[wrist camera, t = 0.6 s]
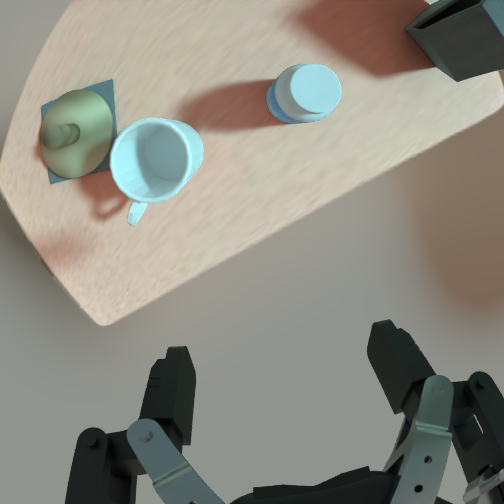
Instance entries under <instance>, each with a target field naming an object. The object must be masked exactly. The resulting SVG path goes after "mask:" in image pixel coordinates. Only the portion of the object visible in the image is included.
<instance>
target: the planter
mask: <svg viewBox="0 0 504 504" xmlns="http://www.w3.org/2000/svg"><path fill="white" fill-rule="evenodd" d="M405 30H406V31H407V32H408V33H409V34H410V36H411V37H412V38H413V39H414V40H415V41H416V42H417V44H418V45H419V46H420V47H421V48H422V50H423V51H424V52H425V53H426V55H427V56H428V57H429V58H430V60H431V61H432V62H433V63H434V65H435V66H436V67H437V68H438V69H440V70H441V71H442V72H444V73H445V74H447V75H448V76H449V77H451V78H452V79H453V80H455V81H456V82H459V81H462V80H465V79H468V78H472V77H475V76H478V75H482V74H485V73H489V72H493V71H497V70H500V69H504V0H439V1H437V2H435V3H433V4H431V5H430V6H429V7H427V8H426V9H425V10H424V11H423V12H422V13H421V14H420V15H419V16H417V17H416V18H415V19H414V20H413V21H412V22H411V23H410V24H409V25H408V26H407V27H406V28H405Z"/></svg>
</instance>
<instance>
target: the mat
mask: <svg viewBox="0 0 504 504" xmlns="http://www.w3.org/2000/svg"><path fill="white" fill-rule="evenodd" d="M81 90H88V91H93V92H95V93H97V94H99V95H100V96H102V97H103V98H104V99H105V100H106V102H107V103H108V105H109V106H110V109H111V111H112V114H113V119H114V136H113V141H112V144H111V147H110V150H109V152H108V154H107V156H106V157H105V159H104V160H103V162H102V163H101V164H100V165H99V166H98V167H97V168H96V169H95V170H93V171H92V172H90V173H88V174H91V173H95V172H100V171H104V170H109V169H110V152H111V149H112V147H113V144H114V141H115V139H116V138H117V129H116V118H115V106H114V90H113V80H112V79H111V80H107V81H104V82H101V83H98V84H95V85H92V86H89V87H86V88H84V89H81ZM56 100H57V99H56ZM56 100H53V101H51V102H49V103H47V104H44V105H42V119H44V117H45V115H46V113H47V111H48V109H49V108H50V107H51V105H52V104H53V103H54V102H55V101H56ZM48 171H49V177H50V182H51V184H53V183H56V182H60V181H63V180H67V179H71V178H65V177H62V176H59V175H57V174H56V173H54V172H53V171H52V170H51V169H50V168H49V167H48ZM86 175H87V174H86Z"/></svg>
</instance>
